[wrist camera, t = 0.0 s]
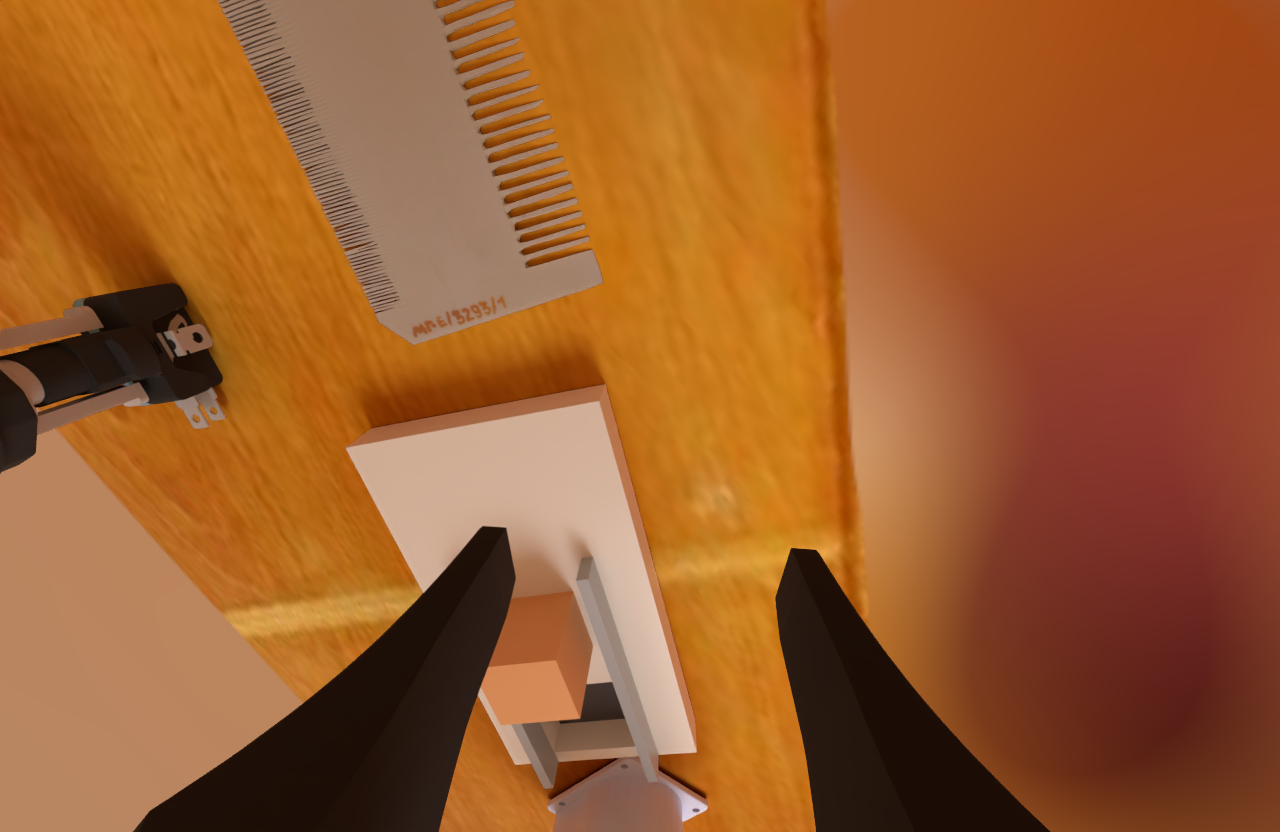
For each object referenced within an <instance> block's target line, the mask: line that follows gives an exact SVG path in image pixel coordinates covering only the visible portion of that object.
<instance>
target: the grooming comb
mask: <svg viewBox="0 0 1280 832" xmlns="http://www.w3.org/2000/svg"><path fill="white" fill-rule="evenodd" d="M217 1H218V3H223V4H221V5H220V7H223V8H225V9H222V12H223V13H224V14H226V15H225V17H226V18H230V19H228V22H233V23H231V24H230V26H231V27H233V28H234V29H232V30H233V32H236V33H234V34H235V35H236V36H238V37H236V38H237V40H244V41H242V42H239V44H240V45H241V46H243V47H244V46H247V47H245V48H243V49H242V50H245V51H244V52H243V53H244V54H249V55H247V59H249V60H250V61H248V62H249V64H250V65H254V66H251V67H252V69H253V70H258V69H261V68H264V67H266V68H264V69H261V70H259V71H256V72H254V73H256V74H259V75H256V78H261V77H265V78H262V79H259V80H258V81H264V82H261V83H259V84H260V86H265V85H270V84H272V85H270V86H268V87H266V88H264V89H263V90H265V91H264V94H266V95H269V94H272V93H276V92H278V93H276V94H274V95H272V96H270V97H268V98H274V97H279V96H282V95H284V96H282V97H279V98H276V99H273V100H271V101H269V102H275V101H278V100H281V99H283V100H281V101H278V102H275V103H272V104H270V105H271V107H276V106H279V107H276V108H273V109H272V110H273V111H279V110H282V109H284V110H282V111H279V112H277V113H275V114H281V113H285V114H282V115H279V116H276V119H281V120H279V121H278V123H284V124H281V126H282V127H286V126H289V125H292V124H295V123H298V124H295V125H293V126H290V127H287V128H285V129H283V132H288V131H291V130H293V131H291V132H289V133H287V134H285V135H290V134H293V133H295V134H293V135H290V136H287V139H291V140H288V141H289V142H290V143H292V144H290V145H291V146H296V147H293V148H292V149H294V150H297V151H294V153H295V154H299V155H297V156H296V157H297V158H299V159H298V161H301V162H299V163H300V164H301V165H304V166H301V168H302V169H305V168H309V167H312V166H315V165H317V166H315V167H313V168H311V169H309V170H307V171H305V172H310V173H307V174H305V175H306V176H311V175H314V176H311V177H308V180H313V179H316V178H319V179H316V180H313V181H310V182H309V184H310V183H313V184H310V185H311V187H314V186H318V185H321V184H325V183H328V182H331V183H328V184H325V185H322V186H318V187H315V188H313V191H317V192H314V193H315V195H320V194H323V195H320V196H317V197H316V199H321V198H325V197H328V196H331V197H328V198H325V199H321V200H318V201H319V203H323V202H326V201H329V200H332V201H329V202H326V203H323V204H321V205H327V206H324V207H321V208H322V209H328V208H332V207H336V206H339V205H343V204H346V203H350V202H353V203H350V204H347V205H343V206H340V207H336V208H333V209H329V210H326V211H323V212H324V214H325V213H330V212H333V211H337V210H341V209H344V208H348V207H352V206H356V205H357V206H356V207H353V208H349V209H345V210H341V211H338V212H335V213H332V214H329V215H326V217H327V218H329V219H327V220H328V221H330V220H335V219H338V218H342V217H345V218H342V219H339V220H335V221H332V222H329V223H330V224H335V225H332V228H335V227H338V226H341V225H344V224H348V223H352V222H355V223H352V224H349V225H346V226H344V227H341V228H338V229H336V230H334V231H337V230H341V229H345V228H349V227H352V228H349V229H345V230H342V231H339V232H336V233H335V235H337V236H336V237H337V238H338V237H342V236H345V235H349V234H353V233H357V232H362V231H365V232H362V233H359V234H355V235H352V236H349V237H345V238H342V239H339V240H338V241H339V242H341V241H345V240H348V239H352V238H355V237H359V236H362V235H365V236H362V237H359V238H355V239H352V240H349V241H346V242H343V243H340V245H344V246H341V247H342V249H344V248H348V247H352V246H356V245H360V244H364V243H368V242H371V243H369V244H367V245H364V246H361V247H358V248H355V249H352V250H349V251H346V252H345V256H348V255H351V256H348V257H347V259H351V258H355V257H359V256H362V255H366V254H369V255H366V256H362V257H359V258H355V259H352V260H348V261H349V262H353V261H357V260H361V259H365V258H369V257H373V256H376V255H380V254H381V255H380V256H377V257H374V258H370V259H366V260H362V261H359V262H355V263H351V264H350V266H352V265H356V264H360V263H364V262H367V261H371V260H375V261H371V262H368V263H365V264H361V265H357V266H354V267H352V269H356V268H360V267H363V266H367V265H370V264H374V263H378V262H381V261H382V263H378V264H375V265H371V266H368V267H365V268H361V269H358V270H355V271H354V273H356V272H360V271H363V270H367V269H371V268H375V267H378V268H375V269H371V270H368V271H365V272H361V273H358V274H355V276H358V275H362V274H366V273H370V272H373V273H370V274H367V275H363V276H360V277H357V279H358V280H359V279H363V278H366V277H370V276H374V275H378V274H381V275H378V276H375V277H371V278H367V279H364V280H360V281H358V282H359V283H360V282H364V281H368V280H372V279H375V278H379V277H383V276H387V277H383V278H379V279H376V280H372V281H369V282H366V283H363V284H360V285H365V284H371V283H374V282H378V281H382V280H386V279H390V280H387V281H383V282H379V283H375V284H371V285H367V286H362V289H367V288H371V287H373V288H371V289H368V290H365V291H364V293H368V292H372V291H375V292H372V293H368V294H366V297H367V296H370V295H374V294H377V295H374V296H370V297H367V299H372V298H376V297H380V296H383V295H387V294H391V293H394V294H391V295H387V296H383V297H380V298H376V299H372V300H369V303H372V302H375V301H379V300H383V299H387V298H391V297H396V296H399V297H396V298H392V299H388V300H384V301H380V302H376V303H372V304H370V305H371V307H372V306H376V305H379V304H383V303H386V304H383V305H379V306H376V307H373V309H376V308H379V309H376V310H374V312H377V311H381V310H385V309H388V310H385V311H382V312H379V313H375V315H376V317H377V319H378V321H379V322H380V323H381V324H383V325H384V326H386V327H387V328H388V329H390V330H391V331H393V332H394V333H396V334H398V335H399V336H401V337H402V338H404V339H406V340H407V341H409V342H410V343H411V344H413V345H416V344H418V343H421V342H424V341H427V340H431V339H435V338H438V337H441V336H444V335H447V334H450V333H454V332H457V331H460V330H462V329H465V328H468V327H472V326H475V325H478V324H481V323H484V322H487V321H490V320H493V319H496V318H499V317H502V316H505V315H508V314H511V313H515V312H518V311H521V310H524V309H527V308H530V307H533V306H536V305H539V304H542V303H545V302H548V301H551V300H554V299H557V298H560V297H563V296H567V295H570V294H573V293H576V292H580V291H583V290H586V289H589V288H591V287H594V286H596V285H599V284H601V283H603V280H602V275H601V271H600V268H599V265H598V263H597V260H596V257H595V254H594V251H593V250H589V251H585V252H581V253H577V254H574V255H570V256H566V257H564V258H560V259H557V260H554V261H550V262H547V263H543V264H539V265H536V266H528V265H527V263H526V262H528V261H529V260H531V259H533V258H536V257H539V256H542V255H545V254H548V253H552V252H556V251H559V250H563V249H566V248H569V247H573V246H576V245H579V244H582V243H585V242H588V241H589V237H585V238H581V239H578V240H575V241H571V242H568V243H564V244H560V245H557V246H553V247H550V248H546V249H543V250H540V251H538V252H534V253H531V254H527V255H525V254H523V253H522V250H523V249H524V248H527V247H530V246H533V245H536V244H538V243H542V242H545V241H549V240H553V239H556V238H559V237H562V236H565V235H567V234H570V233H573V232H577V231H580V230H582V229H585V224H583V225H580V226H577V227H573V228H569V229H566V230H563V231H560V232H556V233H553V234H550V235H547V236H543V237H540V238H537V239H534V240H530V241H525V242H521V241H520V240H519V239H520V237H521V235H523V234H525V233H528V232H532V231H536V230H539V229H542V228H545V227H549V226H553V225H556V224H559V223H562V222H565V221H568V220H572V219H575V218H578V217H581V216H582V213H581V212H576V213H573V214H569V215H566V216H563V217H560V218H557V219H553V220H550V221H547V222H544V223H540V224H537V225H534V226H531V227H528V228H525V229H521V230H518V229H515V224H516V223H517V222H519V221H523V220H526V219H529V218H533V217H536V216H539V215H542V214H545V213H549V212H552V211H555V210H558V209H561V208H565V207H568V206H571V205H574V204H577V203H578V200H577V199H576V198H574V199H571V200H567V201H564V202H561V203H558V204H555V205H551V206H548V207H545V208H541V209H538V210H535V211H532V212H529V213H526V214H523V215H520V216H517V217H511V216H510V215H509V212H510V211H511V209H514V208H517V207H520V206H524V205H527V204H531V203H534V202H537V201H540V200H543V199H546V198H551V197H553V196H555V195H557V194H560V193H563V192H566V191H568V190H571V189H573V185H572V183H571V184H567V185H564V186H561V187H558V188H555V189H552V190H549V191H546V192H543V193H540V194H537V195H534V196H531V197H528V198H525V199H522V200H519V201H516V202H513V203H509V204H508V203H506V202H505V201H504V199H505V198H506V196H507V195H509V194H512V193H514V192H517V191H521V190H526V189H529V188H532V187H534V186H537V185H541V184H544V183H547V182H550V181H553V180H556V179H559V178H562V177H564V176H566V175H569V173H568V172H567V171H564V172H561V173H558V174H554V175H551V176H548V177H545V178H542V179H538V180H535V181H532V182H529V183H526V184H523V185H519V186H516V187H513V188H510V189H506V190H501V188H500V184H501V182H504V181H507V180H510V179H513V178H516V177H519V176H522V175H525V174H528V173H531V172H534V171H537V170H540V169H543V168H546V167H550V166H553V165H556V164H558V163H560V162H563V161H564V157H560V158H556V159H553V160H549V161H546V162H543V163H540V164H537V165H533V166H530V167H527V168H524V169H521V170H518V171H515V172H512V173H508V174H503V175H499V176H496V174H495V172H494V170H495V169H496V168H498V167H501V166H504V165H507V164H510V163H513V162H516V161H519V160H522V159H525V158H528V157H531V156H534V155H537V154H540V153H543V152H546V151H549V150H552V149H555V148H558V143H553V144H550V145H547V146H544V147H541V148H537V149H534V150H531V151H528V152H524V153H521V154H517V155H514V156H511V157H508V158H506V159H503V160H500V161H497V162H493V163H491V162H490V160H489V159H488V158H489V156H490V155H491V154H492V153H495V152H498V151H501V150H504V149H507V148H510V147H513V146H516V145H519V144H523V143H526V142H528V141H531V140H534V139H537V138H540V137H543V136H546V135H549V134H551V133H554V129H549V130H546V131H542V132H538V133H535V134H532V135H528V136H525V137H522V138H519V139H516V140H513V141H509V142H506V143H503V144H501V145H498V146H495V147H492V148H486V147H485V146H484V144H483V143H484V142H485V140H486V139H488V138H491V137H494V136H497V135H500V134H502V133H506V132H509V131H512V130H515V129H519V128H522V127H525V126H528V125H531V124H534V123H537V122H540V121H543V120H546V119H550V118H552V117H551V116H550V115H547V116H543V117H540V118H536V119H533V120H529V121H526V122H523V123H520V124H517V125H514V126H511V127H508V128H504V129H501V130H498V131H495V132H491V133H488V134H484V135H483V134H482V133H481V131H480V130H479V129H480V128H481V127H482V126H484V125H486V124H489V123H491V122H494V121H497V120H500V119H502V118H505V117H508V116H511V115H515V114H518V113H521V112H524V111H527V110H530V109H533V108H535V107H538V106H539V105H540V104H541V103H542V102H543V101H544V99H543V100H540V101H536V102H533V103H530V104H526V105H523V106H519V107H516V108H513V109H510V110H507V111H504V112H501V113H498V114H495V115H492V116H489V117H486V118H483V119H480V120H476V119H475V118H474V117H473V114H474V113H475V112H476V111H477V110H480V109H483V108H486V107H489V106H492V105H495V104H497V103H500V102H503V101H506V100H509V99H511V98H514V97H517V96H520V95H523V94H525V93H528V92H531V91H534V90H536V89H537V87H538V86H539V85H540V84H539V85H536V86H533V87H530V88H527V89H523V90H520V91H517V92H514V93H510V94H507V95H503V96H500V97H498V98H495V99H492V100H489V101H486V102H483V103H480V104H477V105H473V106H471V105H470V104H469V102H468V99H469V98H470V97H472V96H474V95H476V94H479V93H482V92H486V91H489V90H492V89H495V88H498V87H501V86H504V85H507V84H511V83H514V82H516V81H519V80H521V79H523V78H526V77H528V76H529V74H530V71H529V70H527V71H524V72H521V73H518V74H515V75H512V76H509V77H506V78H502V79H499V80H496V81H493V82H490V83H486V84H483V85H480V86H477V87H474V88H471V89H468V90H467V89H466V88H465V87H464V86H463V85H464V84H465V82H467V81H469V80H472V79H474V78H476V77H479V76H481V75H484V74H487V73H489V72H492V71H494V70H497V69H499V68H502V67H504V66H507V65H509V64H512V63H514V62H517V61H519V60H522V58H523V56H524V53H525V52H522V53H519V54H516V55H513V56H510V57H508V58H505V59H502V60H499V61H496V62H494V63H491V64H488V65H485V66H483V67H480V68H477V69H474V70H471V71H468V72H465V73H462V74H460V73H459V72H458V70H457V69H458V68H459V67H460V65H461V64H462V63H465V62H469V61H472V60H474V59H477V58H480V57H483V56H485V55H488V54H491V53H493V52H496V51H499V50H501V49H504V48H506V47H508V46H511V45H514V44H516V43H517V42H518V41H519V39H520V38H517V39H514V40H511V41H508V42H505V43H502V44H499V45H496V46H493V47H490V48H487V49H484V50H482V51H479V52H476V53H473V54H470V55H468V56H465V57H462V58H459V59H456V58H455V57H454V56H453V55H452V52H453V51H456V50H459V49H461V48H463V47H466V46H468V45H470V44H472V43H474V42H477V41H479V40H482V39H485V38H487V37H490V36H493V35H495V34H498V33H500V32H502V31H505V30H507V29H509V28H511V27H513V26H514V25H515V21H514V20H510V21H507V22H504V23H501V24H499V25H496V26H493V27H490V28H487V29H485V30H482V31H479V32H477V33H474V34H471V35H469V36H466V37H463V38H461V39H458V40H455V41H453V42H450V41H449V40H448V39H447V36H448V35H449V34H451V33H453V32H455V31H457V30H459V29H461V28H464V27H466V26H469V25H472V24H474V23H476V22H478V21H481V20H484V19H487V18H489V17H492V16H495V15H497V14H499V13H501V12H503V11H506V10H508V9H510V8H512V7H514V0H512V1H508V2H505V3H502V4H499V5H496V6H494V7H491V8H489V9H486V10H484V11H481V12H479V13H476V14H473V15H471V16H468V17H466V18H463V19H459V20H457V21H455V22H453V23H450V24H448V25H447V24H446V22H445V21H444V17H445V16H446V15H447V14H449V13H452V12H455V11H459V10H462V9H464V8H466V7H468V6H470V5H472V4H474V3H477V2H480V1H483V0H460V1H458V2H456V3H453V4H451V5H448V6H445V7H442V8H439V7H437V5H436V2H437V1H438V0H217ZM245 39H247V40H245ZM248 45H249V46H248ZM275 63H276V64H275ZM256 64H257V65H256ZM270 65H271V66H270ZM267 66H269V67H267ZM266 71H267V72H266ZM263 72H265V73H263ZM260 73H262V74H260ZM269 75H270V76H269ZM267 76H268V77H267ZM273 88H274V89H273ZM270 89H271V90H270ZM279 91H281V92H279ZM289 93H290V94H289ZM285 94H287V95H285ZM285 98H286V99H285ZM283 104H284V105H283ZM280 105H281V106H280ZM285 108H286V109H285ZM289 111H290V112H289ZM286 112H288V113H286ZM292 115H293V116H292ZM289 116H290V117H289ZM286 117H287V118H286ZM282 118H284V119H282ZM305 120H306V121H305ZM288 121H289V122H288ZM302 121H303V122H302ZM285 122H286V123H285ZM299 122H301V123H299ZM294 129H295V130H294ZM306 129H307V130H306ZM303 130H304V131H303ZM300 131H301V132H300ZM296 132H298V133H296ZM299 136H300V137H299ZM296 137H297V138H296ZM293 138H294V139H293ZM294 142H295V143H294ZM304 143H305V144H304ZM301 144H302V145H301ZM297 145H299V146H297ZM305 147H306V148H305ZM302 148H303V149H302ZM298 149H300V150H298ZM313 149H314V150H313ZM310 150H311V151H310ZM307 151H308V152H307ZM303 152H305V153H303ZM300 153H302V154H300ZM313 153H314V154H313ZM310 154H311V155H310ZM306 155H308V156H306ZM303 156H305V157H303ZM300 157H302V158H300ZM309 158H310V159H309ZM306 159H307V160H306ZM303 160H304V161H303ZM305 164H306V165H305ZM319 164H320V165H319ZM314 170H315V171H314ZM311 171H312V172H311ZM325 171H326V172H325ZM322 172H323V173H322ZM318 173H320V174H318ZM315 174H317V175H315ZM327 175H328V176H327ZM323 176H325V177H323ZM320 177H322V178H320ZM343 178H344V179H343ZM340 179H342V180H340ZM336 180H338V181H336ZM332 181H334V182H332ZM340 184H341V185H340ZM336 185H337V186H336ZM332 186H334V187H332ZM329 187H330V188H329ZM345 187H347V188H345ZM325 188H327V189H325ZM341 188H344V189H341ZM321 189H324V190H321ZM338 189H341V190H338ZM318 190H320V191H318ZM335 190H337V191H335ZM350 190H351V191H350ZM331 191H334V192H331ZM346 191H347V192H346ZM328 192H330V193H328ZM342 192H344V193H342ZM324 193H327V194H324ZM339 193H341V194H339ZM335 194H338V195H335ZM332 195H334V196H332ZM343 196H344V197H343ZM354 196H355V197H354ZM339 197H341V198H339ZM350 197H352V198H350ZM336 198H338V199H336ZM347 198H350V199H347ZM333 199H335V200H333ZM344 199H347V200H344ZM341 200H344V201H341ZM338 201H341V202H338ZM354 201H355V202H354ZM335 202H337V203H335ZM332 203H334V204H332ZM329 204H331V205H329ZM361 208H362V209H361ZM357 209H359V210H357ZM354 210H356V211H354ZM350 211H353V212H350ZM347 212H350V213H347ZM344 213H347V214H344ZM358 213H359V214H358ZM341 214H343V215H341ZM354 214H356V215H354ZM337 215H340V216H337ZM350 215H352V216H350ZM334 216H336V217H334ZM346 216H349V217H346ZM361 216H362V217H361ZM330 217H332V218H330ZM358 217H359V218H358ZM354 218H356V219H354ZM351 219H352V220H351ZM348 220H349V221H348ZM344 221H346V222H344ZM356 221H358V222H356ZM341 222H342V223H341ZM337 223H339V224H337ZM360 224H363V225H360ZM356 225H359V226H356ZM368 225H369V226H368ZM353 226H356V227H353ZM365 226H368V227H365ZM362 227H365V228H362ZM358 228H361V229H358ZM355 229H358V230H355ZM351 230H355V231H352V232H348V231H351ZM345 232H348V233H345ZM341 233H344V234H341ZM371 233H372V234H371ZM338 234H341V235H338ZM366 234H369V235H366ZM364 239H366V240H364ZM359 240H362V241H359ZM355 241H359V242H355ZM372 241H373V242H372ZM351 242H355V243H352V244H348V243H351ZM345 244H348V245H345ZM376 244H377V245H376ZM373 245H375V246H373ZM370 246H371V247H370ZM372 248H376V249H372ZM360 249H361V250H360ZM369 249H372V250H369ZM366 250H368V251H366ZM362 251H364V252H362ZM359 252H361V253H359ZM355 253H358V254H355ZM370 253H373V254H370ZM352 254H355V255H352ZM376 259H378V260H376ZM384 265H385V266H384ZM380 266H381V267H380ZM378 270H379V271H378ZM374 271H376V272H374ZM382 273H384V274H382ZM389 282H393V283H389ZM386 283H389V284H386ZM382 284H385V285H382ZM378 285H381V286H378ZM375 286H377V287H375ZM390 286H394V287H390ZM386 287H389V288H386ZM383 288H385V289H383ZM379 289H382V290H379ZM376 290H379V291H376ZM390 290H391V291H390ZM386 291H388V292H386ZM382 292H384V293H382ZM395 292H397V293H395ZM378 293H380V294H378ZM398 299H399V300H398ZM394 300H397V301H394ZM390 301H393V302H390ZM387 302H390V303H387ZM396 303H397V304H396ZM392 304H393V305H392ZM388 305H390V306H388ZM384 306H386V307H384ZM380 307H383V308H380ZM393 307H394V308H393ZM389 308H391V309H389Z"/></svg>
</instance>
